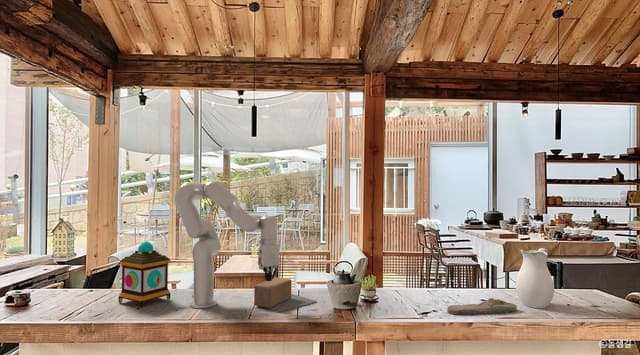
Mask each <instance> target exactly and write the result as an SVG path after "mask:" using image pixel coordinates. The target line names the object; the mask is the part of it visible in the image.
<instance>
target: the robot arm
mask: <svg viewBox="0 0 640 355" xmlns="http://www.w3.org/2000/svg"><path fill="white" fill-rule="evenodd" d="M199 200H201V201H202V200H211V201H212V202H214V204H216V205H217V206H218V207H220V208H221V209H222V210H223V211H224V212H225V213H226V214H227V216H228V217H229V219H230V220H231V221H232V222H233V223H234V224H235V225H236V226H237V227H239V228H240V229H241V230H242V231H244V232H246V233H253V232H256V231H260V240H259V241H258V242H259V247H258V255H257V264H258V270H260V271H263V273H264V282H265V281H272V279H273V272H274V269H275V268H277V267H279V265H280V263H281V261H280V257H281V256H280V249H279V244H277V241H278V240H277V239H278V238H277V237H278V236H277V234H278V229H277V228H278V227H277V226H278V219H277V218H278V217H276V216H275V215H259V214H252V215H250V214H249V213H248V212H247V211H245V210H244V209H243V208H242V207H241V205H240V202H239V198H238V197H236V196H235V195H234V194H233V193H232V192H230V191H229V190H228V186H227V185H226V183H225V182H223V181H221V180H212V181H209V182H187V183H183V184H181V185H180V186H179V187H178V188H177V189H176V191H175V194H174V203H175V207H176V209H177V211H178V213H179V216H180V218H181V220H182V224H183V225H184V228H185V230H186V233H187V235H188V236H189V237H190V238H191V239H193V240H195V239H198V241H197V242H195V243H194V245H193V247H192V252H191V253H192V260H193V294H192V295H191V298H192V299H193V300H191V301H190V303H189V306H190V307H191V308H195V309H207V308H212V307H215V306H216V305H217V304H218V301H217V300H216V299H215V298H214V297H215V295H214V294H215V293H214V291H215V264H214V258H213V257H215V256H217V255H218V254H219V253H220V251H221V249H222V245H221V241H220V239H219V236H218V234H217V232H216V229H215V227H214V224H213V222H212V221H211V220H209V219H208V218H206V217H201V214H200V213H199V211H198V208H197V206H196V205H195V204H194V202H193V201H199Z"/></svg>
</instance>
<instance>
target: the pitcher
mask: <svg viewBox="0 0 640 355" xmlns="http://www.w3.org/2000/svg"><path fill="white" fill-rule="evenodd" d="M519 251H520V253H521V255H522V263H521V266H520V268H519V271H518V273H517V276H516V278H515V292H516V294H517V295H516V296H517V297H518V299H519V301H520V303H521V304H522V305H523V306H524V305H525V306H524V307H527V306H529V307H528V308H531V307H533V308H532V309H546V308H548V307H549V306H550V304H551V302H552V300H553V298H554V293H555V284H554V280H553V278H552V274H551V272H550V270H549V267H548V264H547V261H548V256H549V255H548V249H546V248H544V247H541V248H540V247H539V249H538V250H534V249H533V250H531V249H530V250H527V251H526V250H523V249H520V250H519Z"/></svg>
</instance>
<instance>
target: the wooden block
mask: <svg viewBox="0 0 640 355" xmlns="http://www.w3.org/2000/svg"><path fill="white" fill-rule="evenodd" d="M253 287H254V289H253V292H254V293H253V294H254V296H253V300H254V302H253V304H254V306H257V307H260V308H261V307H262V308H266V307H267V308H266V309H269V308H272V307H274V306H276V305H278V304H280V303H282V302H284V301H286V300H288V299H290V298H291V295H292V279H291V278H286V277H285V278H283V277H274V278H273V277H272V281H265V280H264V281H263V282H260V283H258V284H255V285H254V286H253Z"/></svg>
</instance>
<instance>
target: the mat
mask: <svg viewBox="0 0 640 355" xmlns="http://www.w3.org/2000/svg"><path fill="white" fill-rule="evenodd" d="M315 303H318V301H317V300H314V299H310V298H308V297H303V296H301V295H297V294H294V293H291V298H290V299H288V300H286V301H284V302H282V303H280V304H278V305H276V306H274V307H272V308H267V307H265V308H266V309H270V310H272V311H275V312H278V313H283V312H287V311H291V310H294V309H297V308H302V307H305V306H308V305H312V304H315Z"/></svg>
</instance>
